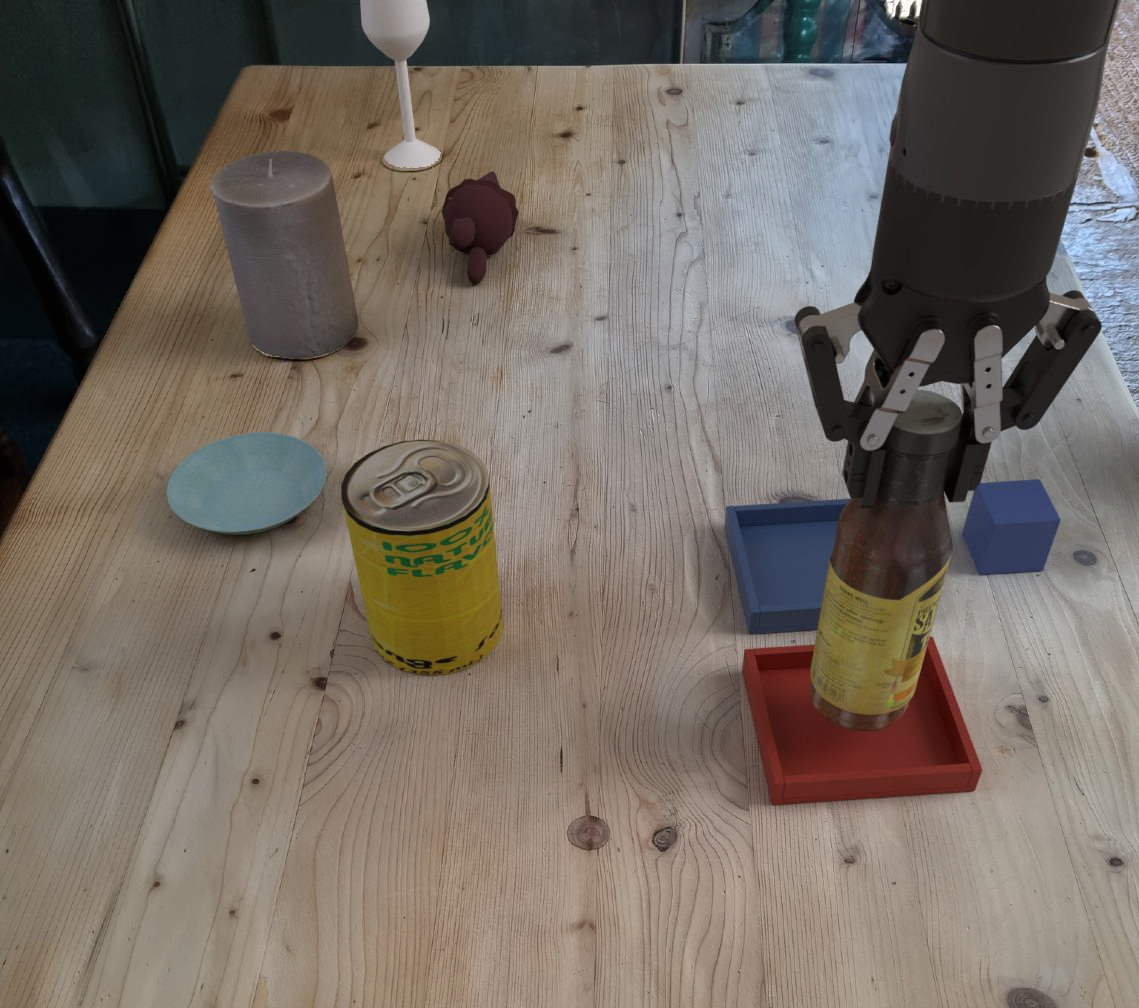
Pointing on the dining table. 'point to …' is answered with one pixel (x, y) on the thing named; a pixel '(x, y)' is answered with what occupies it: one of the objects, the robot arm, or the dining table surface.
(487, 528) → the beverage can
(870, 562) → the sauce bottle
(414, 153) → the champagne flute
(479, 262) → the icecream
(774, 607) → the blue tray
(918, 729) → the red tray
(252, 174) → the pillar candle
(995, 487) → the blue block
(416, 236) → the dining table surface
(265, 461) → the saucer
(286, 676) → the dining table surface
